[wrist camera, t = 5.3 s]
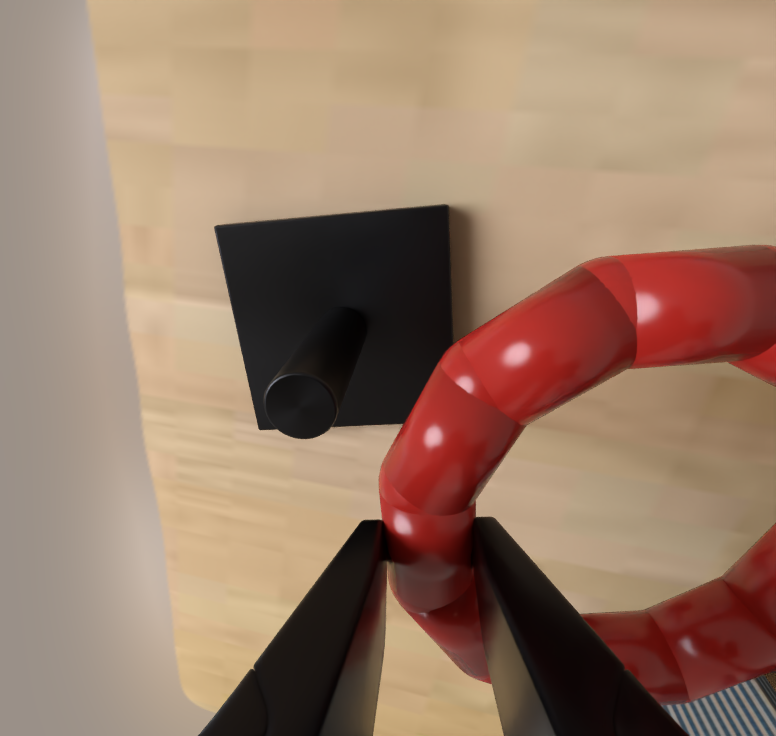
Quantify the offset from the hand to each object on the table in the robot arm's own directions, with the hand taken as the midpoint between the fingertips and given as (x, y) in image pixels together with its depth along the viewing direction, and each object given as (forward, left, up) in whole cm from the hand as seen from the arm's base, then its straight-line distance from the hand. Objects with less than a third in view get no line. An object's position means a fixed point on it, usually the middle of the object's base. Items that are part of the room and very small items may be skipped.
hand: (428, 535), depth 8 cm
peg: (+3, -1, -11) cm, 12 cm away
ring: (-4, 0, 0) cm, 4 cm away
